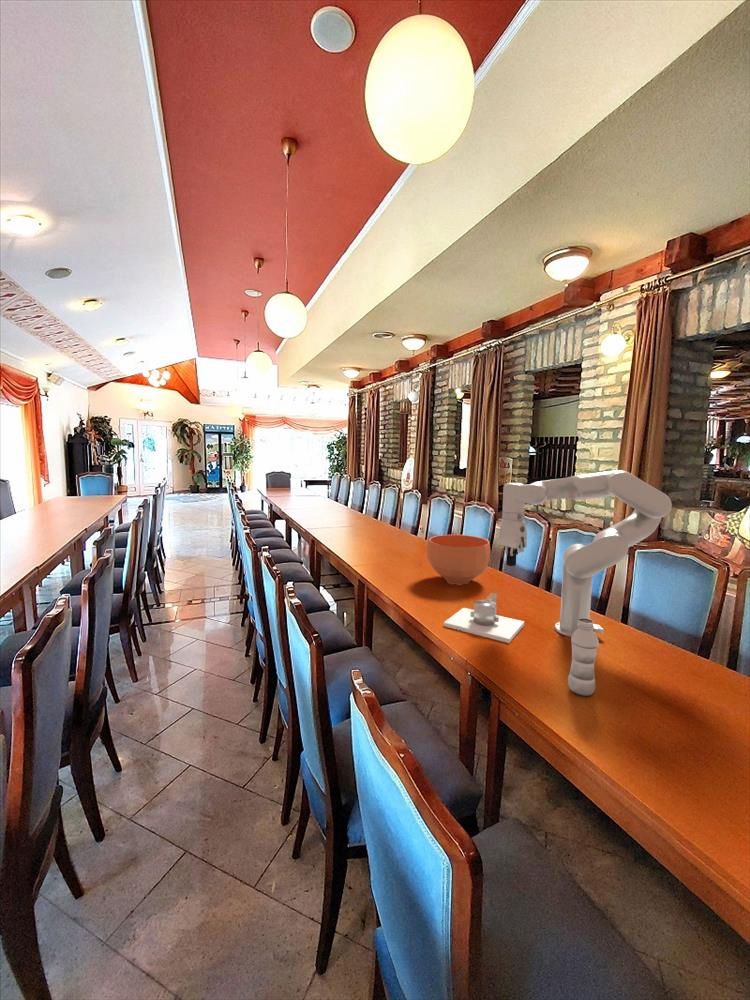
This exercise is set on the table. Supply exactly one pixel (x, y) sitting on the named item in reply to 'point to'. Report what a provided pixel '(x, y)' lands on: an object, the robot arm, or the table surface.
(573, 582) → the robot arm
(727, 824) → the table surface
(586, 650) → the plastic bottle
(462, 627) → the base
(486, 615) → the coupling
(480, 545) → the bowl
